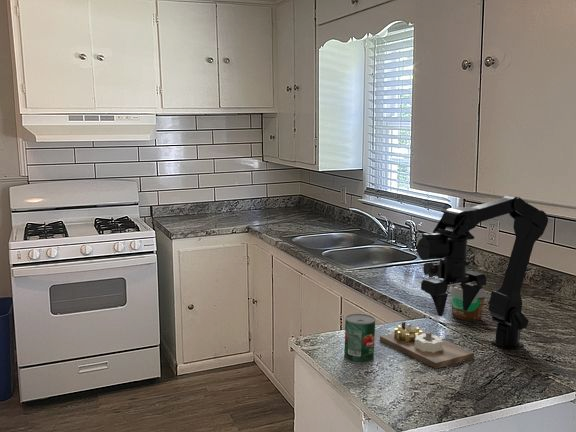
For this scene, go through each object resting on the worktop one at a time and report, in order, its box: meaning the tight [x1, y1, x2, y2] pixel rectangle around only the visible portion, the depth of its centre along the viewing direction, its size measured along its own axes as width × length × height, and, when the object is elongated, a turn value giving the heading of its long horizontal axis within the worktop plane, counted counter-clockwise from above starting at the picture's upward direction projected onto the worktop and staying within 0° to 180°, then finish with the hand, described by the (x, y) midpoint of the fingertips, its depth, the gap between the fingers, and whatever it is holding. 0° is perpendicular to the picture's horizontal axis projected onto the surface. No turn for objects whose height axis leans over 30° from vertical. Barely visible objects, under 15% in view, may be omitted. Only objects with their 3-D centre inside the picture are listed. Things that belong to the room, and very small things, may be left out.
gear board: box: [379, 328, 475, 370], centre depth 164 cm, size 14×22×6 cm, turn 31°
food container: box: [448, 285, 488, 322], centre depth 191 cm, size 12×6×10 cm, turn 47°
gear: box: [393, 321, 423, 342], centre depth 168 cm, size 8×8×4 cm
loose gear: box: [414, 334, 444, 353], centre depth 162 cm, size 7×7×2 cm
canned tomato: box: [343, 313, 376, 365], centre depth 157 cm, size 8×8×11 cm
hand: (452, 313), depth 160 cm, fingers open, 9 cm apart
